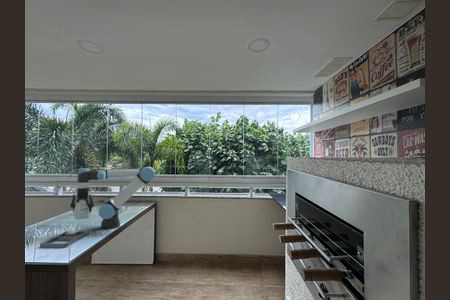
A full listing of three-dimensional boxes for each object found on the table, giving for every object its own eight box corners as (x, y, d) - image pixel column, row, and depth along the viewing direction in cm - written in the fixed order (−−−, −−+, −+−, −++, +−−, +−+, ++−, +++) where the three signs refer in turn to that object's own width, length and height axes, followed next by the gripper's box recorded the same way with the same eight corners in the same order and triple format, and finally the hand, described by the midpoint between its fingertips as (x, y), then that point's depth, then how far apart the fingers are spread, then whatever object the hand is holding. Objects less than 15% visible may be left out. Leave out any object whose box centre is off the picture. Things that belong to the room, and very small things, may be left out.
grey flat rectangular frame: (66, 234, 178) (66, 231, 178) (87, 234, 178) (87, 231, 178) (39, 247, 151) (40, 243, 151) (65, 247, 151) (65, 243, 152)
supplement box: (79, 220, 180) (80, 203, 181) (74, 218, 184) (75, 202, 185) (89, 218, 186) (89, 202, 187) (84, 216, 190) (84, 201, 191)
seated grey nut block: (78, 236, 174) (78, 231, 174) (72, 239, 168) (72, 233, 168) (70, 236, 174) (70, 231, 174) (64, 239, 168) (64, 233, 168)
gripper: (99, 187, 191) (98, 214, 190) (71, 187, 189) (70, 215, 188) (95, 188, 183) (94, 217, 182) (65, 188, 182) (64, 217, 181)
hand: (82, 216), depth 185 cm, fingers closed on supplement box, 10 cm apart
